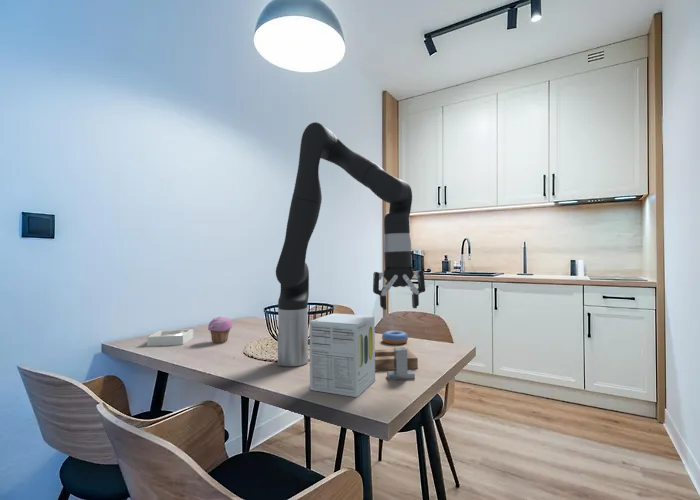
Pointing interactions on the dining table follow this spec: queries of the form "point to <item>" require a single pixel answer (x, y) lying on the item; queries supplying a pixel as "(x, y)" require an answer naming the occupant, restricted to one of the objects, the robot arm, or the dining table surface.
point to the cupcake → (220, 329)
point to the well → (392, 359)
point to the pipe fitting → (175, 333)
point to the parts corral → (169, 338)
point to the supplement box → (342, 353)
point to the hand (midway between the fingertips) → (399, 308)
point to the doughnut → (394, 337)
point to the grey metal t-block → (400, 366)
